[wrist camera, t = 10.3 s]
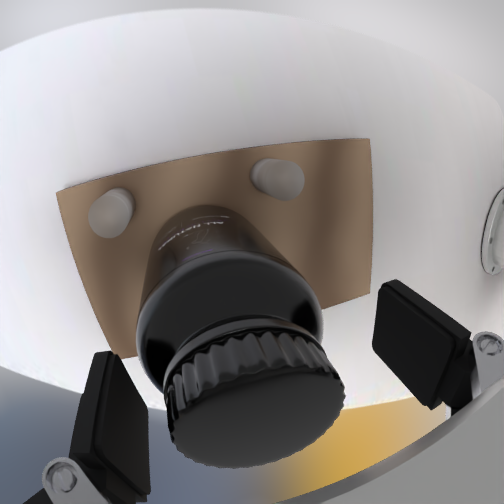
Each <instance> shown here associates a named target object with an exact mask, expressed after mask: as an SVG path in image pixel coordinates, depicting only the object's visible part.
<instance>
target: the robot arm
mask: <svg viewBox="0 0 504 504" xmlns="http://www.w3.org/2000/svg"><path fill="white" fill-rule="evenodd" d="M482 263H483V267H484V269H485V271H486V272H488V273H489V274H491V275H496V274H498V273H499V272H501V271H502V270H503V269H504V189H502V190H501V191H500V193H499V194H498V195H497V197H496V199H495V200H494V203H493V205H492V207H491V210H490V213H489V216H488V219H487V223H486V227H485V232H484V237H483V245H482ZM470 336H471V332H470V331H469V330H467V329H466V328H465V327H463V326H462V325H461V324H459V323H458V322H457V321H455V320H454V319H453V318H451V317H450V316H449V315H447V314H446V313H444V312H443V311H442V310H440V309H439V308H437V307H436V306H435V305H433V304H432V303H431V302H429V301H428V300H426V299H425V298H423V297H422V296H421V295H419V294H418V293H416V292H415V291H413V290H412V289H411V288H409V287H408V286H406V285H405V284H403V283H402V282H400V281H399V280H397V279H394V280H391V281H389V282H386V283H383V284H382V286H381V288H380V289H379V291H378V300H377V309H376V318H375V325H374V333H373V340H372V347H373V350H374V352H375V353H376V354H377V355H378V356H379V357H380V358H381V359H382V361H383V362H384V363H385V364H386V365H387V366H388V367H389V368H390V369H391V370H392V372H393V373H394V374H395V375H396V376H397V377H398V378H399V379H400V380H401V381H402V383H403V384H404V385H405V386H406V387H407V388H408V389H409V390H410V392H411V393H412V394H413V395H414V396H415V397H416V398H417V399H418V400H419V402H420V403H421V404H422V405H424V406H428V407H429V409H430V410H433V409H434V408H436V407H437V406H439V405H440V404H441V403H442V401H443V402H444V403H445V404H446V421H445V422H443V423H442V424H441V425H439V426H438V427H437V428H435V429H433V430H432V431H431V432H429V433H428V434H426V435H425V436H423V437H422V438H420V439H418V440H417V441H415V442H414V443H412V444H410V445H409V446H407V447H405V448H404V449H402V450H400V451H399V452H397V453H395V454H393V455H392V456H390V457H388V458H386V459H384V460H382V461H380V462H378V463H377V464H374V465H373V466H371V467H369V468H367V469H364V470H363V471H360V472H358V473H356V474H354V475H352V476H349V477H347V478H345V479H343V480H340V481H338V482H336V483H333V484H330V485H328V486H325V487H323V488H320V489H318V490H315V491H312V492H309V493H306V494H303V495H300V496H297V497H294V498H291V499H288V500H284V501H281V502H277V503H274V504H504V340H503V339H502V338H501V337H500V336H498V335H497V334H494V333H492V332H480V333H478V334H476V335H475V336H474V338H473V341H471V340H470V339H469V338H470ZM149 471H150V470H149V442H148V409H147V406H146V404H145V402H144V401H143V399H142V397H141V396H140V394H139V392H138V390H137V389H136V387H135V385H134V383H133V381H132V380H131V378H130V376H129V374H128V372H127V370H126V368H125V366H124V364H123V363H122V361H121V359H120V357H119V355H118V354H114V353H113V352H112V351H104V352H97V353H95V354H94V357H93V360H92V364H91V367H90V371H89V375H88V378H87V382H86V386H85V390H84V393H83V394H82V396H81V399H80V403H79V407H78V412H77V416H76V421H75V425H74V431H73V436H72V441H71V447H70V453H69V458H64V457H62V458H56V459H54V460H52V461H51V462H49V463H48V464H47V465H46V467H45V469H44V470H43V474H42V483H43V486H44V488H43V489H42V490H40V491H39V492H38V493H36V494H35V495H34V496H32V497H31V498H30V499H28V500H27V501H26V502H24V503H23V504H136V502H147V495H149V494H150V492H151V486H150V472H149Z"/></svg>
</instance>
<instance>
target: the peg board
mask: <svg viewBox="0 0 504 504" xmlns="http://www.w3.org/2000/svg"><path fill="white" fill-rule="evenodd" d="M56 196H57V201H58V205H59V209H60V213H61V217H62V220H63V224H64V228H65V231H66V235H67V238H68V241H69V245H70V248H71V251H72V254H73V257H74V260H75V263H76V266H77V269H78V272H79V275H80V277H81V280H82V283H83V285H84V288H85V291H86V293H87V296H88V298H89V301H90V303H91V306H92V308H93V311H94V313H95V315H96V318H97V320H98V322H99V324H100V327H101V329H102V331H103V333H104V335H105V337H106V339H107V342H108V344H109V346H110V348H111V350H112V352H113V353H114V354H118V355H119V357H120V359H125V358H131V357H136V356H138V353H137V348H136V326H137V319H138V312H139V306H140V300H141V295H142V289H143V284H144V278H145V273H146V268H147V263H148V259H149V254H150V250H151V247H152V244H153V241H154V239H155V237H156V235H157V234H158V232H159V231H160V229H161V228H162V227H163V226H164V224H165V223H166V222H167V221H169V220H170V219H171V218H172V217H174V216H175V215H176V214H178V213H180V212H182V211H184V210H186V209H189V208H192V207H197V206H203V205H214V206H221V207H225V208H228V209H231V210H233V211H235V212H237V213H239V214H240V215H242V216H243V217H245V218H246V219H247V220H248V221H249V222H250V223H252V224H253V225H254V226H255V227H256V228H257V229H258V230H259V231H260V232H261V233H262V234H263V236H264V237H265V238H266V239H267V240H268V241H269V242H270V243H271V244H272V245H273V246H274V247H275V248H276V249H277V250H278V251H279V252H280V253H281V254H282V255H283V256H284V257H285V258H286V259H287V260H288V261H289V262H290V263H291V264H292V265H293V266H294V267H295V268H296V269H297V270H298V271H299V273H300V274H301V275H302V276H303V277H304V278H305V279H306V281H307V282H308V283H309V285H310V286H311V287H312V289H313V290H314V292H315V294H316V296H317V298H318V300H319V303H320V306H321V310H322V309H325V308H328V307H331V306H334V305H337V304H340V303H343V302H346V301H349V300H352V299H355V298H358V297H361V296H364V295H366V294H369V293H370V283H371V267H372V242H373V188H372V164H371V148H370V139H358V138H357V139H334V140H318V141H305V142H294V143H284V144H274V145H266V146H258V147H250V148H243V149H236V150H229V151H223V152H216V153H210V154H205V155H199V156H194V157H188V158H183V159H178V160H173V161H169V162H164V163H159V164H155V165H150V166H146V167H142V168H138V169H134V170H130V171H126V172H122V173H118V174H114V175H110V176H107V177H103V178H100V179H96V180H93V181H89V182H86V183H83V184H79V185H76V186H73V187H70V188H67V189H64V190H61V191H59V192H57V193H56Z"/></svg>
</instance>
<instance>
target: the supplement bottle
mask: <svg viewBox="0 0 504 504" xmlns="http://www.w3.org/2000/svg"><path fill="white" fill-rule="evenodd" d="M322 337H323V316H322V310H321V306H320V303H319V300H318V298H317V296H316V294H315V292H314V290H313V289H312V287H311V286H310V285H309V283H308V282H307V281H306V279H305V278H304V277H303V276H302V275H301V274H300V273H299V271H298V270H297V269H296V268H295V267H294V266H293V265H292V264H291V263H290V262H289V261H288V260H287V259H286V258H285V257H284V256H283V255H282V254H281V253H280V252H279V251H278V250H277V249H276V248H275V247H274V246H273V245H272V244H271V243H270V242H269V241H268V240H267V239H266V238H265V237H264V236H263V234H262V233H261V232H260V231H259V230H258V229H257V228H256V227H255V226H254V225H253V224H252V223H250V222H249V221H248V220H247V219H246V218H245V217H243V216H242V215H240V214H239V213H237V212H235V211H233V210H231V209H228V208H225V207H221V206H214V205H203V206H197V207H192V208H189V209H186V210H184V211H182V212H180V213H178V214H176V215H175V216H174V217H172V218H171V219H170V220H169V221H167V222H166V223H165V224H164V226H163V227H162V228H161V229H160V231H159V232H158V234H157V235H156V237H155V239H154V241H153V244H152V247H151V250H150V254H149V259H148V263H147V268H146V273H145V278H144V284H143V289H142V295H141V300H140V306H139V312H138V319H137V326H136V348H137V353H138V357H139V360H140V363H141V366H142V368H143V370H144V371H145V373H146V375H147V376H148V378H149V379H150V381H151V382H152V383H153V384H154V386H155V387H156V388H157V389H158V390H159V391H160V392H161V393H163V394H164V400H165V404H166V407H167V419H168V428H169V431H170V437H171V440H172V443H174V444H175V445H176V448H177V450H178V451H179V452H181V453H183V454H184V456H185V457H187V458H190V459H193V461H195V462H197V463H202V464H204V465H206V466H215V467H218V468H233V469H234V468H248V467H252V466H259V465H264V464H267V463H270V462H275V461H278V460H280V459H282V458H285V457H288V456H290V455H292V454H294V453H295V452H298V451H301V450H303V449H304V448H305V447H306V446H308V445H310V444H312V443H313V442H315V441H316V440H317V439H318V438H319V437H320V436H322V435H323V434H324V433H325V432H326V430H327V429H329V428H330V427H331V426H332V425H333V423H334V421H335V420H336V419H337V418H338V416H339V414H340V411H341V409H342V408H343V406H344V404H343V401H344V399H345V397H346V396H345V393H344V388H345V387H344V384H343V382H342V380H341V379H340V377H339V375H338V373H337V371H336V370H335V368H334V367H333V366H332V364H331V363H330V361H329V360H328V359H327V356H326V353H325V351H324V350H323V348H322V346H321V342H322Z"/></svg>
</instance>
